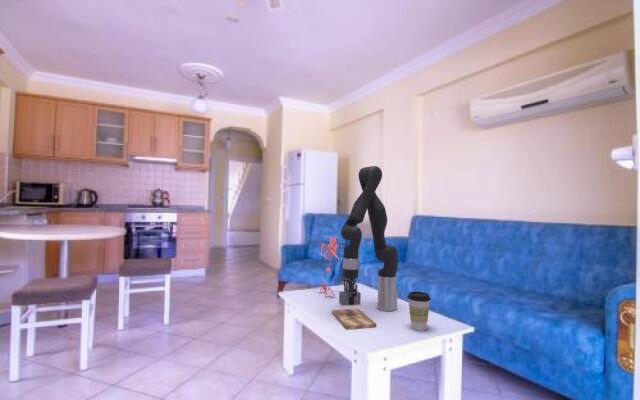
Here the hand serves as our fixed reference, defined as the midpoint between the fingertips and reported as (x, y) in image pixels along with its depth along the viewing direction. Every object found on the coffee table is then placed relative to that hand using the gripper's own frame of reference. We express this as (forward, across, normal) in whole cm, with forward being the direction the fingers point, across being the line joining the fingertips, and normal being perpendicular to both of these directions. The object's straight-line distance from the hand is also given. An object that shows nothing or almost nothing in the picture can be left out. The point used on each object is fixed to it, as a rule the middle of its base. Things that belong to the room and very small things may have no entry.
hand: (349, 302), depth 158 cm
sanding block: (+1, 0, 0) cm, 1 cm away
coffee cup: (+7, -20, -25) cm, 33 cm away
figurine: (+7, +40, -3) cm, 41 cm away
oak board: (+7, -4, 0) cm, 8 cm away
